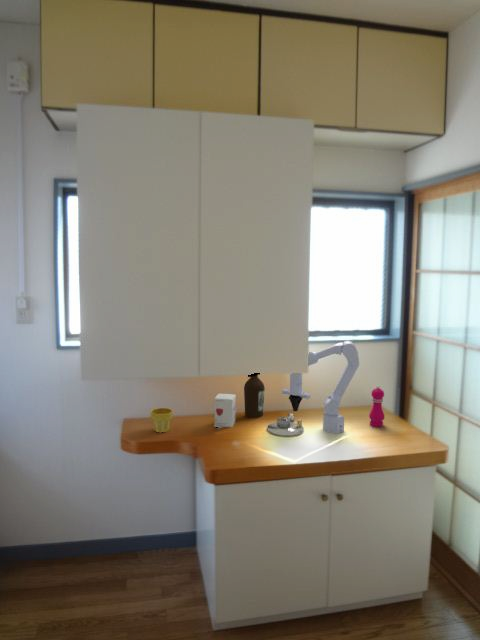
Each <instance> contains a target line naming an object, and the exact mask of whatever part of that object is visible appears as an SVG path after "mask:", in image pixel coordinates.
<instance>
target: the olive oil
mask: <svg viewBox="0 0 480 640" xmlns="http://www.w3.org/2000/svg"><path fill="white" fill-rule="evenodd" d="M265 388H266V387H265V385H264V382H263V381H262V380H261V379H260V378H259V374H255V375H252V376H249V379H247V381H245V383H244V386H243V396H244V397H243V399H244V417H245V418H246V419H247V418H249V419H251V418H252V419H254V418H255V419H257V418H263V417H264V404H265V402H264V401H265V390H266V389H265Z"/></svg>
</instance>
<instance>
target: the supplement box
mask: <svg viewBox="0 0 480 640" xmlns="http://www.w3.org/2000/svg"><path fill="white" fill-rule="evenodd" d="M236 398H237V395H236V394H233V393H218V394H217V395H216V396H215V397H214V417H213V418H214V421H213V422H214V427H218V428H217V429H223V428H233V427H234V425H235V424H236V402H237V401H236Z"/></svg>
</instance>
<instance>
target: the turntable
mask: <svg viewBox="0 0 480 640" xmlns="http://www.w3.org/2000/svg"><path fill="white" fill-rule="evenodd" d="M304 428H305V427H303V421H302V419H301V418H300V419H297V422H294V421H293V422H291V426H290V427H288V428H280V427H278V426H277V421H275V422H271V423H269V424H268V425H267V432H268V433H269V434H271V435H273V436H277V437H285V438H287V437H291V438H292V437H298V436H301V435H303V433H304V432H305V429H304Z"/></svg>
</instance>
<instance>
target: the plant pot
mask: <svg viewBox="0 0 480 640" xmlns="http://www.w3.org/2000/svg"><path fill="white" fill-rule="evenodd" d="M173 414H174V410H173V409H172V408H169V407H157V408H153V409H151V410H150V419H151V421H152V426H153V429H154V430H155V431H156V432H166V431H168V430H169V431H170V426H171V421H172V419H173V417H174V415H173ZM155 431H154V432H155ZM169 431H168V432H169ZM156 432H155V433H156ZM166 433H167V432H166Z"/></svg>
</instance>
